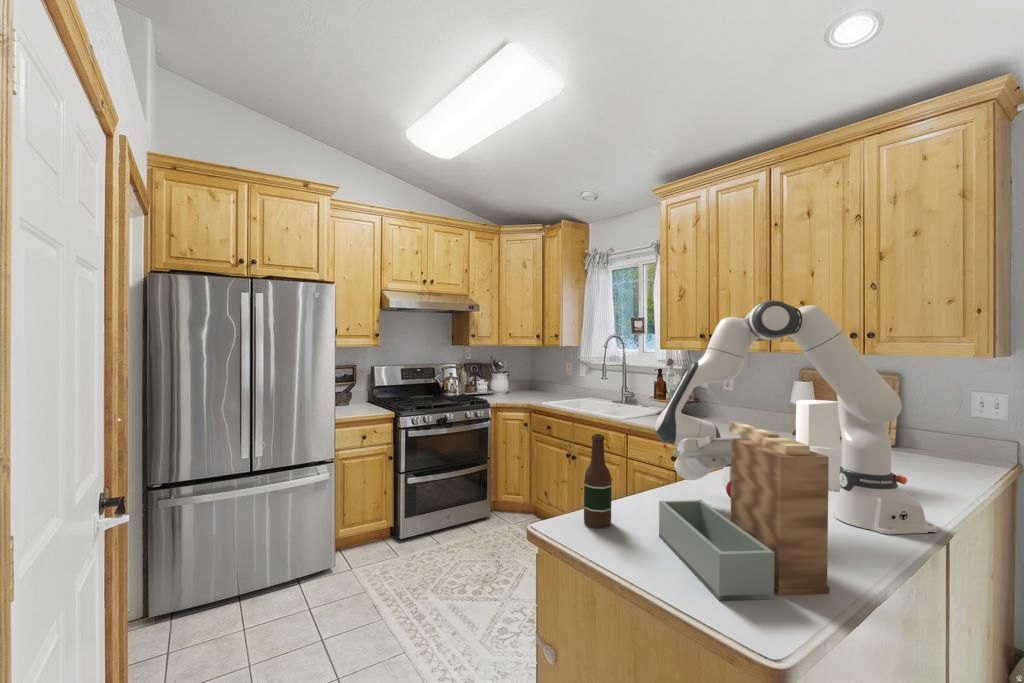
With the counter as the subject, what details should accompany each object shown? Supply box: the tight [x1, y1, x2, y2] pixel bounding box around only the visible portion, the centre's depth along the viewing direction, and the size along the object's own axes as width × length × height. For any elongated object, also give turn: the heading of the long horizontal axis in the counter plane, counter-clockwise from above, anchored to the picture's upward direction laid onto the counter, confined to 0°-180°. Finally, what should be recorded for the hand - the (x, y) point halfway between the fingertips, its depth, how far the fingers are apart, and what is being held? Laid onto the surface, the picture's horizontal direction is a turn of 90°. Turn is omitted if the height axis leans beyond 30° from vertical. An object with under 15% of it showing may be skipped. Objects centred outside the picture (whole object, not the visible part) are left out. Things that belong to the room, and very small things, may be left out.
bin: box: [658, 499, 775, 602], centre depth 108 cm, size 30×11×9 cm, turn 5°
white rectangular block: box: [795, 399, 842, 492], centre depth 168 cm, size 17×17×28 cm
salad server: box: [728, 421, 810, 455], centre depth 109 cm, size 24×5×2 cm, turn 5°
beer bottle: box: [583, 433, 612, 530], centre depth 130 cm, size 8×8×24 cm
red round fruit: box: [725, 481, 731, 499], centre depth 148 cm, size 6×6×8 cm
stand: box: [730, 437, 831, 596], centre depth 104 cm, size 19×11×27 cm, turn 5°
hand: (729, 438), depth 123 cm, fingers open, 8 cm apart
